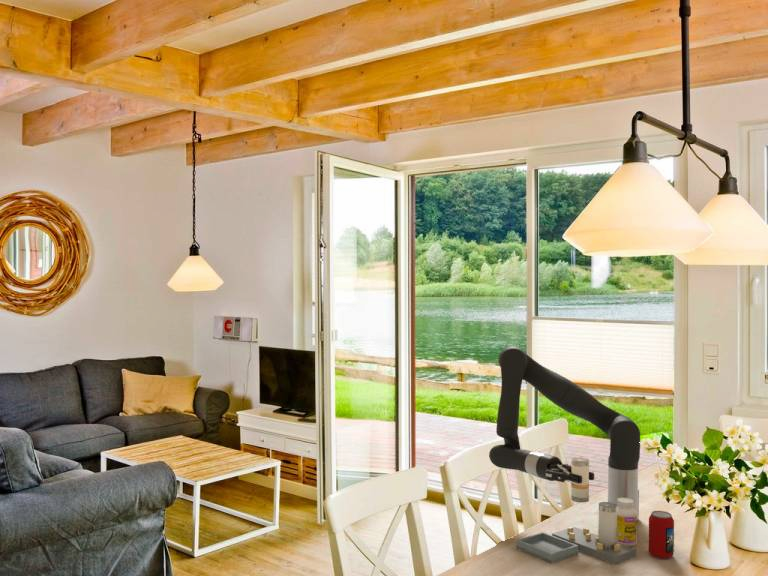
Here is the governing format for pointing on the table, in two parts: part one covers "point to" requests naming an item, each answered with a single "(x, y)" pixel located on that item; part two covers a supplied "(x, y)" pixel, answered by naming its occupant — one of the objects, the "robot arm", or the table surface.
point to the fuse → (607, 525)
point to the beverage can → (661, 535)
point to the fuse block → (595, 545)
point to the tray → (547, 547)
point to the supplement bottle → (626, 522)
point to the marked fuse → (582, 490)
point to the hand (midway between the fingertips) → (587, 478)
